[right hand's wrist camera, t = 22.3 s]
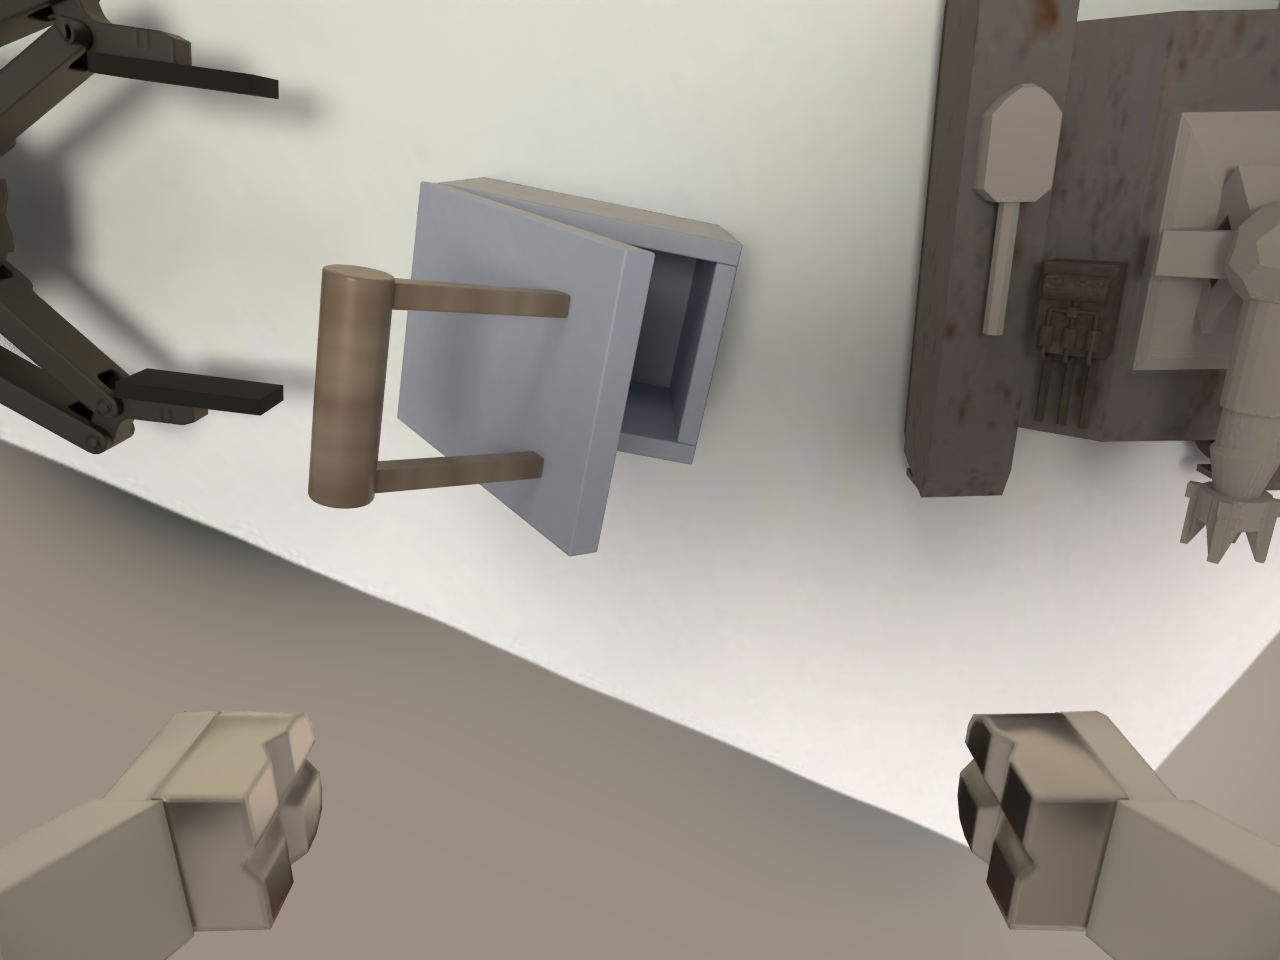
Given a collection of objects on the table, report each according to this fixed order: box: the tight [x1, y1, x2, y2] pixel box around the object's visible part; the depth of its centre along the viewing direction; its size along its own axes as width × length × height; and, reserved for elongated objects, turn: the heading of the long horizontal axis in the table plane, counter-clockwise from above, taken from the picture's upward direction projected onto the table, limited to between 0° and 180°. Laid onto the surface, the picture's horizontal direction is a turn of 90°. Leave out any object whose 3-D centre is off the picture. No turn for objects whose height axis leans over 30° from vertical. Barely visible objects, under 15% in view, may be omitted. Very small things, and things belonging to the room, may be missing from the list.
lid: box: [308, 181, 655, 556], centre depth 28 cm, size 13×9×8 cm
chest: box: [438, 178, 742, 464], centre depth 40 cm, size 12×9×10 cm
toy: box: [904, 0, 1280, 564], centre depth 37 cm, size 25×20×15 cm
